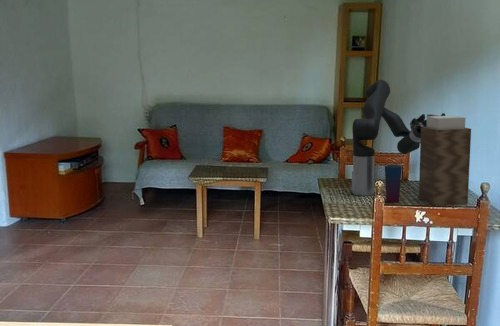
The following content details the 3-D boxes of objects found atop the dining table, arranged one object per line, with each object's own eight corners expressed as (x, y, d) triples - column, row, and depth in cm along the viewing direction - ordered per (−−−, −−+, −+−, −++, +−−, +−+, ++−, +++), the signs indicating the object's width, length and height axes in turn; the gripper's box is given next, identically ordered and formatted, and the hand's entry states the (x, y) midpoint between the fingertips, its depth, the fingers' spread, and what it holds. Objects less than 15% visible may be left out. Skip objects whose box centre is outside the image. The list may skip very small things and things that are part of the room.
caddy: (437, 133, 180) (438, 118, 179) (416, 128, 201) (417, 114, 200) (464, 132, 180) (465, 117, 179) (441, 127, 201) (441, 113, 200)
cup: (404, 202, 190) (405, 166, 187) (390, 204, 188) (390, 167, 185) (394, 198, 196) (395, 163, 193) (380, 200, 194) (381, 165, 192)
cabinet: (432, 205, 183) (435, 130, 178) (418, 197, 197) (420, 126, 192) (467, 204, 184) (471, 128, 179) (451, 195, 198) (454, 125, 192)
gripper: (403, 124, 211) (416, 108, 196) (434, 123, 212) (449, 107, 197) (406, 139, 209) (419, 124, 194) (437, 138, 209) (452, 123, 194)
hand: (434, 115), depth 195 cm, fingers open, 8 cm apart
